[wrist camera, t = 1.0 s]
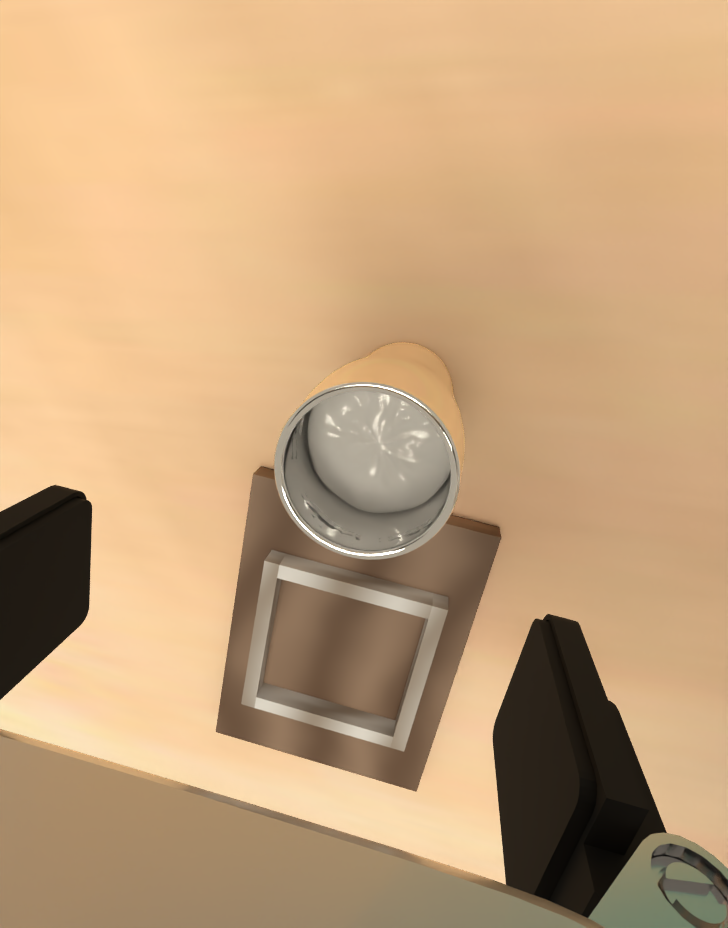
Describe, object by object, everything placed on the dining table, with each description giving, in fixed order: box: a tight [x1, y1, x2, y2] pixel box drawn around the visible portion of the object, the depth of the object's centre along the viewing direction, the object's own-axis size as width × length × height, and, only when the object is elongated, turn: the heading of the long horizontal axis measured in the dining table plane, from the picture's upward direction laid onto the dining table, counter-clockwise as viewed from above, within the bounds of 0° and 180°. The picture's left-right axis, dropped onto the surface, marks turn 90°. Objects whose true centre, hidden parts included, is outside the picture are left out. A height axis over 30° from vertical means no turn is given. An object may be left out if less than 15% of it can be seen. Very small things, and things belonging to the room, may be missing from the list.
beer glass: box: [274, 342, 465, 560], centre depth 26 cm, size 7×7×15 cm
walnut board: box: [216, 467, 501, 791], centre depth 37 cm, size 16×22×3 cm
